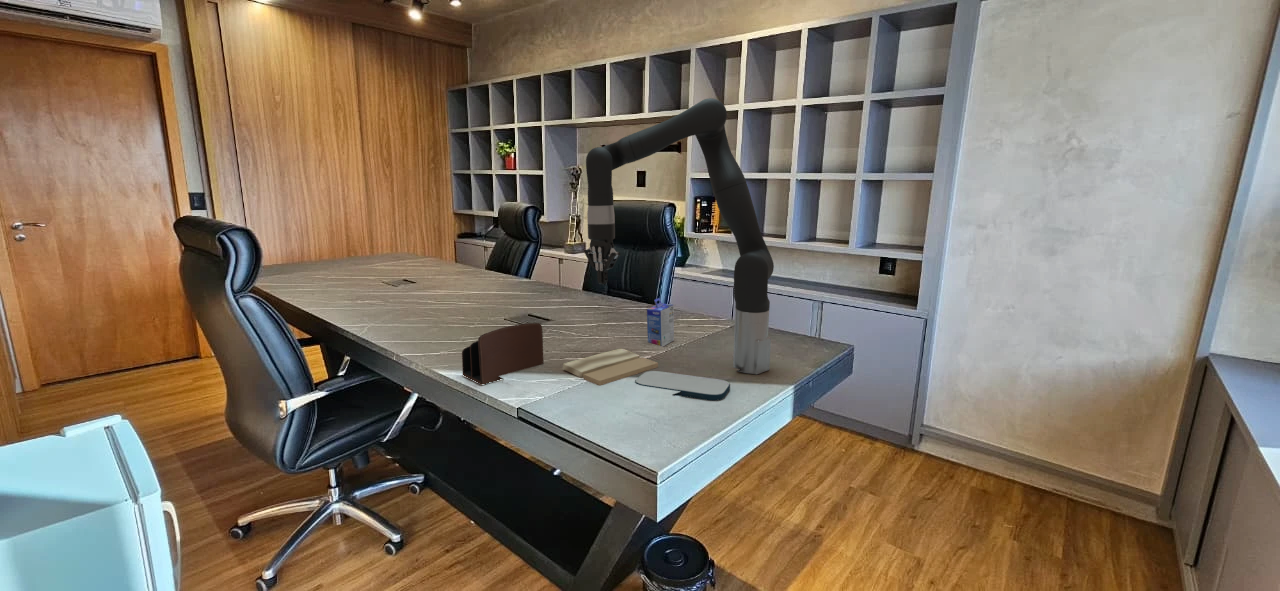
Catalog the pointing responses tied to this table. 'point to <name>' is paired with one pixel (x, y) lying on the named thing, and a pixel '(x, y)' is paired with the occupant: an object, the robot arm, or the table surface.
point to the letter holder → (503, 352)
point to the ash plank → (599, 361)
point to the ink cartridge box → (660, 323)
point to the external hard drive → (686, 385)
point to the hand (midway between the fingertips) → (602, 283)
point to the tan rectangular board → (620, 371)
